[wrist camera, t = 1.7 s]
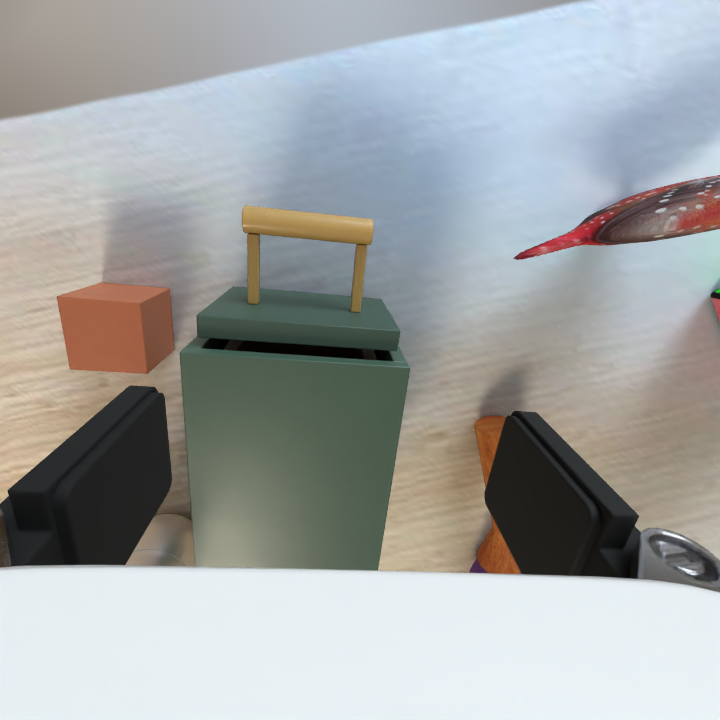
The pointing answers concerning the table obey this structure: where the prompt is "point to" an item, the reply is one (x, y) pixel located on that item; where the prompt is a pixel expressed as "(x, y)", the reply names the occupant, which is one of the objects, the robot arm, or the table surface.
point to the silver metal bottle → (165, 543)
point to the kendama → (493, 548)
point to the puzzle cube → (716, 302)
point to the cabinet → (290, 455)
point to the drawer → (301, 298)
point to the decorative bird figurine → (646, 218)
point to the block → (117, 327)
